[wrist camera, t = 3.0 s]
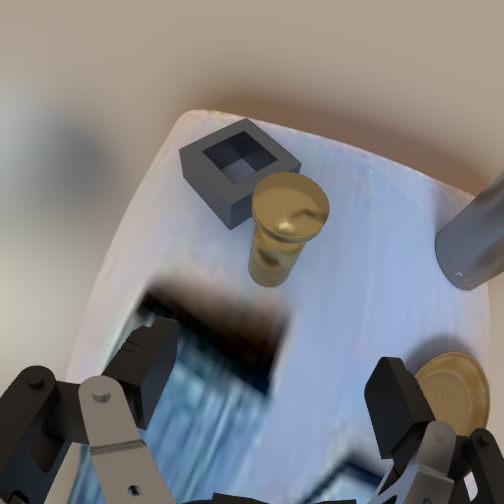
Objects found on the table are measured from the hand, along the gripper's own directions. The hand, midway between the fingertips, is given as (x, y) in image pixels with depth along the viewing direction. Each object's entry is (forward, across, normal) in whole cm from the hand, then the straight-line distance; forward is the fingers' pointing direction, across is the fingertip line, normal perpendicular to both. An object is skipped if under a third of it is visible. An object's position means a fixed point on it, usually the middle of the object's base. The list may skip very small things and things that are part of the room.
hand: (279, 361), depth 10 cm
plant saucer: (+8, -21, +14) cm, 26 cm away
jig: (+24, +5, -3) cm, 25 cm away
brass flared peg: (+18, 0, +3) cm, 18 cm away
